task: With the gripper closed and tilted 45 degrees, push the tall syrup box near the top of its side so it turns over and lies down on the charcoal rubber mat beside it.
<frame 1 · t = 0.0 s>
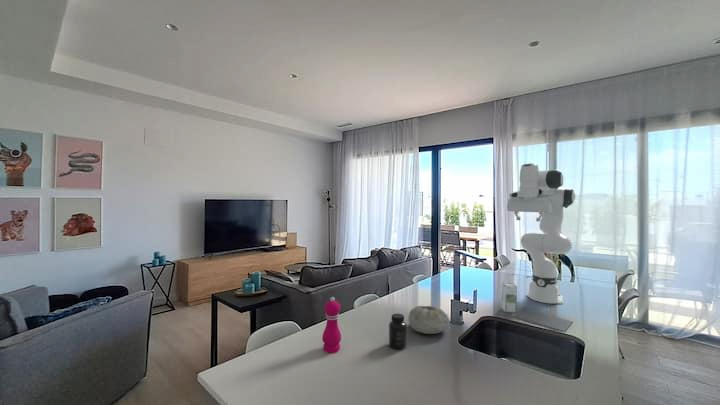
hand: (528, 220, 153), 48 cm above the counter, tool pointing down, fingers open, 8 cm apart
charcoal mat: (542, 319, 144), on the counter
syrup box: (508, 311, 155), on the counter
supplement bottle: (397, 346, 115), on the counter
pepper mill: (331, 349, 112), on the counter
decorative shell: (428, 330, 130), on the counter
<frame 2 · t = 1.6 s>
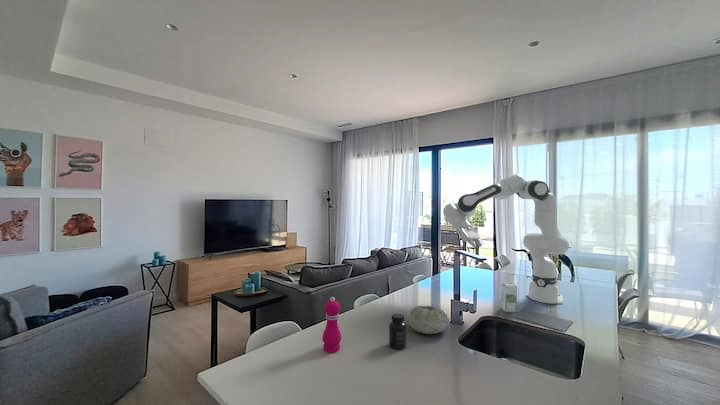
hand: (478, 246, 166), 32 cm above the counter, tool tilted 40°, fingers open, 8 cm apart
nothing on the counter moved.
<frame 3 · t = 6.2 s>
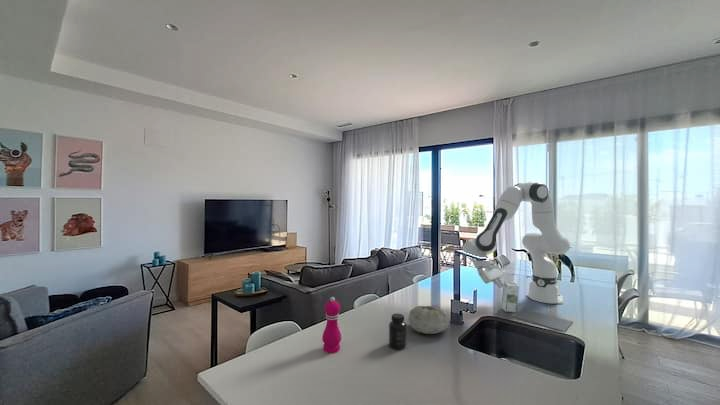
hand: (502, 286, 158), 12 cm above the counter, tool tilted 45°, fingers closed
syrup box: (508, 310, 155), on the counter, touching gripper
everything else where it was.
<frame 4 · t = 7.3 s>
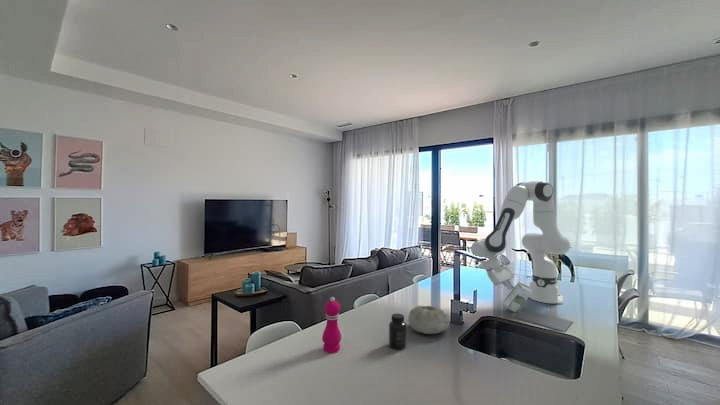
hand: (512, 288, 154), 12 cm above the counter, tool tilted 45°, fingers closed
syrup box: (509, 307, 155), point 2 cm above the counter, touching gripper
everything else where it was.
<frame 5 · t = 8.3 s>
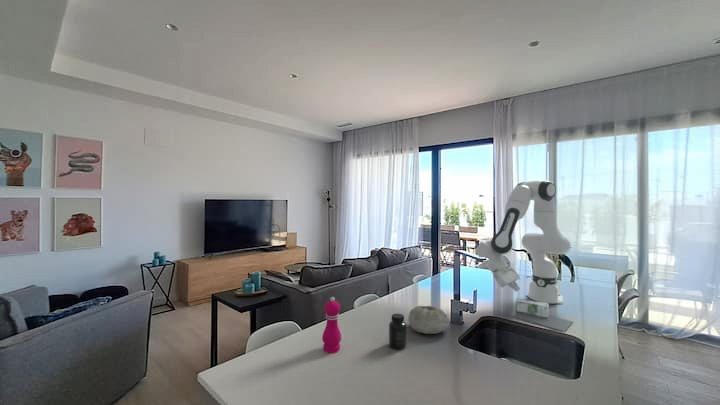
hand: (518, 290, 152), 12 cm above the counter, tool tilted 45°, fingers closed
syrup box: (515, 304, 155), point 3 cm above the counter, touching charcoal mat
everything else where it was.
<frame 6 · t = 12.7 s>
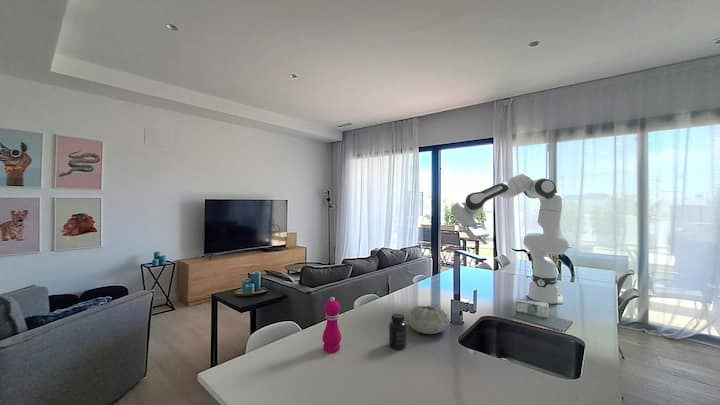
hand: (487, 243, 169), 33 cm above the counter, tool tilted 45°, fingers closed
nothing on the counter moved.
at the end: syrup box tilted 90°; syrup box touching charcoal mat; syrup box inside the target area (3.3 cm from its centre), point 3.3 cm above the counter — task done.
